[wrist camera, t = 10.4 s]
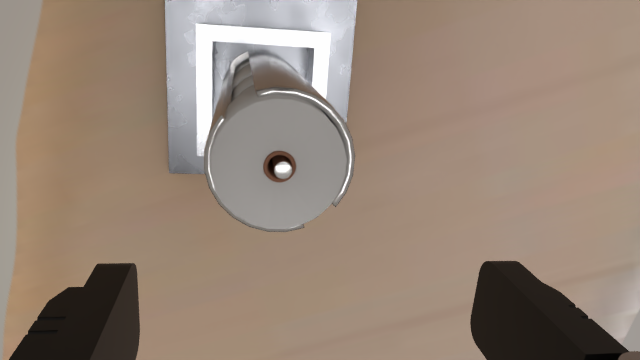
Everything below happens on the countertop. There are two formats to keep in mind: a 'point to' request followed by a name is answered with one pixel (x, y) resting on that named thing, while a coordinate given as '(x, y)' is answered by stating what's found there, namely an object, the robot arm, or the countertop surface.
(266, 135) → the silver metal cylinder
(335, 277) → the countertop surface
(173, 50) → the board
